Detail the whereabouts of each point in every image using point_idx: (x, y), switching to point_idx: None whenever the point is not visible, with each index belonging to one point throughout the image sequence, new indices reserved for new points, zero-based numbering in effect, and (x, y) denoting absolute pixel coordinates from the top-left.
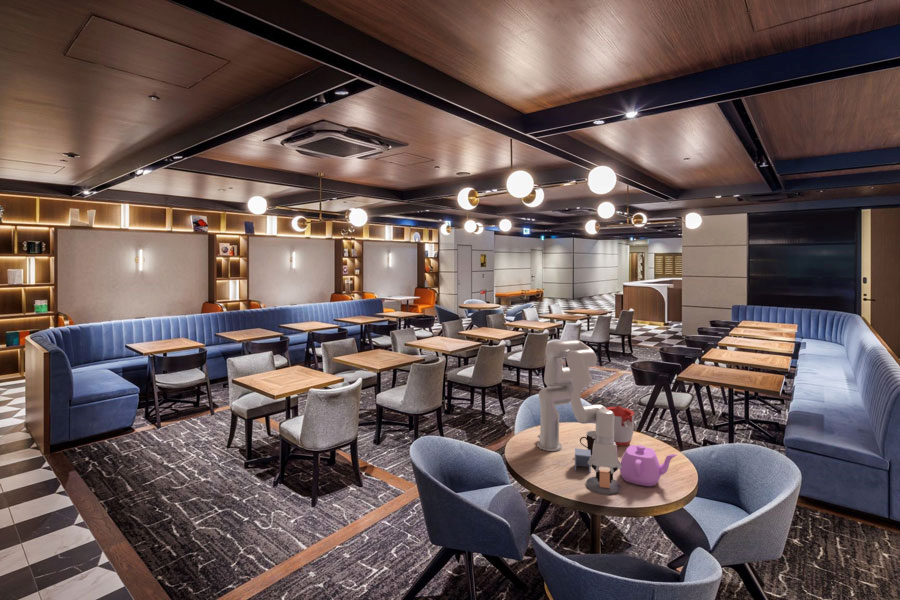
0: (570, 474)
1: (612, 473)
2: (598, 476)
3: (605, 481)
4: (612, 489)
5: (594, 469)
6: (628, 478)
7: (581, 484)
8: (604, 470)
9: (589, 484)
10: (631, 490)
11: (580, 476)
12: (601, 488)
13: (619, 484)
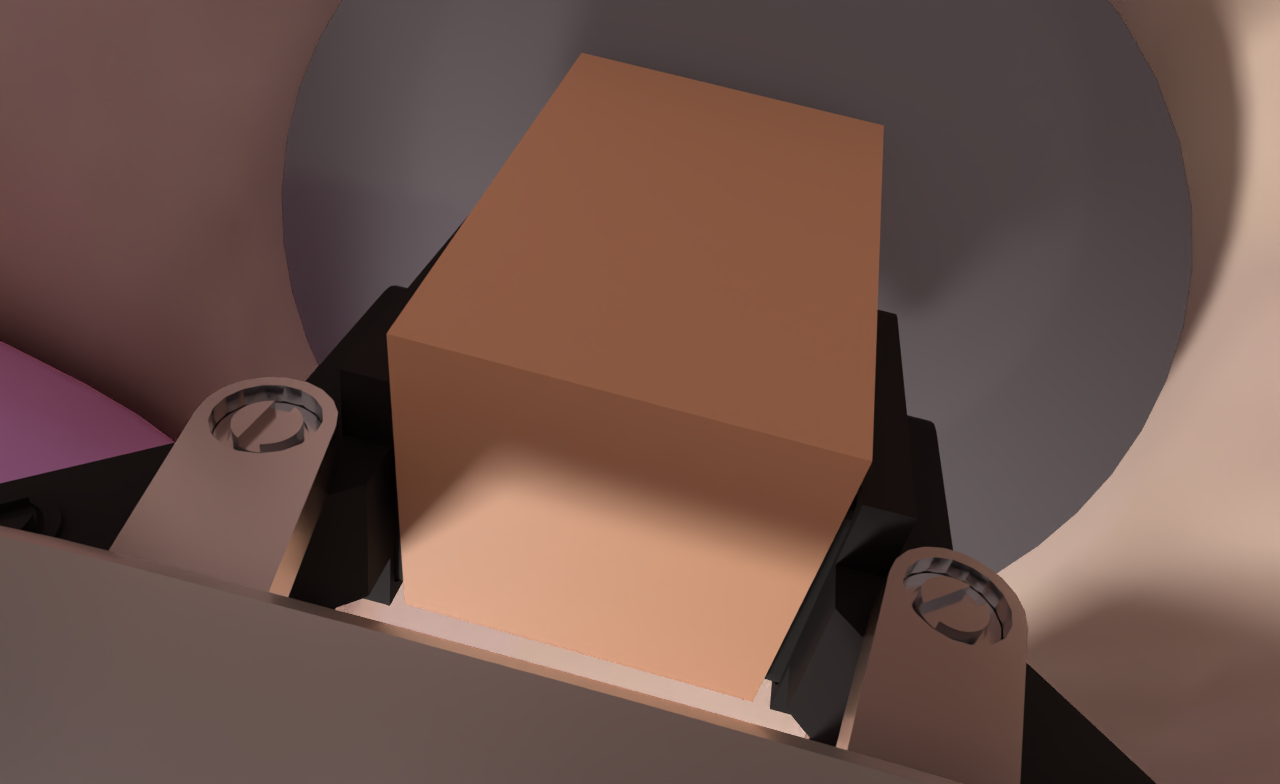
0: (1267, 771)
1: (287, 399)
2: (883, 402)
3: (669, 176)
4: (507, 44)
5: (1046, 692)
6: (54, 436)
7: (1265, 403)
8: (577, 627)
9: (1111, 320)
10: (80, 123)
11: (1076, 692)
12: (829, 86)
13: (306, 310)
